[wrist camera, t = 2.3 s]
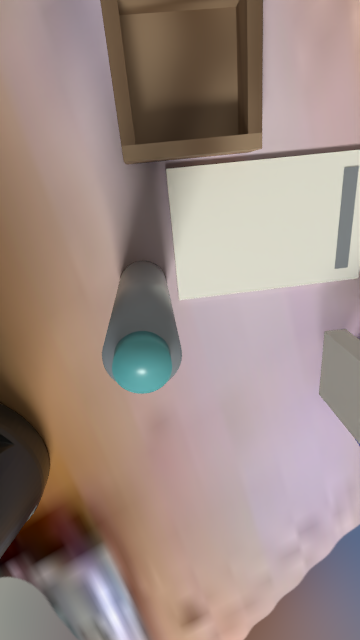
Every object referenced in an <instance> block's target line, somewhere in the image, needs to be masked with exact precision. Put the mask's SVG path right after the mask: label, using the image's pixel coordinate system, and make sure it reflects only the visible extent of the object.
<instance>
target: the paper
mask: <svg viewBox="0 0 360 640" xmlns="http://www.w3.org/2000/svg"><path fill="white" fill-rule="evenodd" d="M166 176H167V186H168V196H169V206H170V216H171V226H172V235H173V245H174V255H175V265H176V275H177V285H178V295H179V300H185V299H193V298H202V297H210V296H218V295H226V294H234V293H243V292H251V291H259V290H267V289H275V288H284V287H292V286H300V285H308V284H316V283H325V282H333V281H341V280H349V279H357V278H358V276H359V269H360V150H351V151H341V152H331V153H321V154H311V155H301V156H291V157H281V158H271V159H261V160H251V161H240V162H230V163H220V164H210V165H200V166H190V167H180V168H170V169H166Z"/></svg>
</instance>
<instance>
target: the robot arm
mask: <svg viewBox="0 0 360 640" xmlns="http://www.w3.org/2000/svg"><path fill="white" fill-rule="evenodd" d="M319 395H320V396H321V397H322V398H323V400H324V401H325V402H326V403H327V405H328V406H329V407H330V408H331V410H332V411H333V412H334V413H335V414H336V416H337V417H338V418H339V419H340V421H341V422H342V423H343V424H344V426H345V427H346V428H347V429H348V431H349V432H350V433H351V434H352V435H353V437H354V438H355V439H356V440H357V442H358V443H359V444H360V340H359V339H358V338H356V337H355V336H354V335H352V334H351V333H350V332H348V331H347V330H346V329H341V330H333V331H325V333H324V344H323V355H322V366H321V377H320V388H319ZM49 468H50V464H49V456H48V452H47V449H46V447H45V444H44V442H43V440H42V439H41V437H40V436H39V434H38V433H37V431H36V430H35V429H34V428H33V427H32V426H31V425H30V424H29V423H28V422H27V421H26V420H25V419H24V418H23V417H21V416H20V415H19V414H17V413H16V412H14V411H13V410H11V409H10V408H8V407H6V406H4V405H2V404H0V558H1V556H2V555H3V553H4V552H5V551H6V549H7V548H8V547H9V545H10V544H11V542H12V541H13V540H14V538H15V537H16V535H17V534H18V532H19V531H20V530H21V528H22V527H23V525H24V524H25V523H26V521H27V520H28V519H29V518H30V517H31V516H32V514H33V513H34V512H35V510H36V508H37V506H38V504H39V502H40V500H41V497H42V495H43V492H44V489H45V485H46V482H47V479H48V476H49Z"/></svg>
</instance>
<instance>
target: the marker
mask: <svg viewBox="0 0 360 640" xmlns="http://www.w3.org/2000/svg"><path fill="white" fill-rule="evenodd" d="M102 359H103V364H104V367H105V369H106V371H107V372H108V374H109V375H110V376H111V378H113V379H114V380H115V381H116V382H117V383H118V384H119V385H120V386H121V387H123V388H124V389H126V390H128V391H130V392H134V393H150V392H153V391H156V390H158V389H159V388H161V387H162V386H163V385H164V384H166V382H167V381H169V380H170V379H171V378H172V377H173V376H174V375H175V373H176V372H177V370H178V368H179V366H180V363H181V359H182V350H181V345H180V340H179V336H178V331H177V327H176V322H175V318H174V313H173V309H172V304H171V300H170V295H169V291H168V286H167V282H166V278H165V275H164V273H163V271H162V270H161V269H160V268H159V267H158V266H157V265H155V264H154V263H151V262H148V261H138V262H134V263H132V264H130V265H129V266H128V267H127V268H126V269H125V270H124V271H123V273H122V275H121V278H120V282H119V286H118V290H117V294H116V298H115V302H114V306H113V310H112V314H111V318H110V322H109V326H108V330H107V334H106V338H105V342H104V346H103V351H102Z"/></svg>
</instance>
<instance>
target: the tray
mask: <svg viewBox="0 0 360 640" xmlns="http://www.w3.org/2000/svg"><path fill="white" fill-rule="evenodd" d="M100 1H101V8H102V15H103V22H104V29H105V36H106V43H107V49H108V56H109V63H110V70H111V77H112V84H113V91H114V98H115V105H116V111H117V118H118V125H119V132H120V139H121V146H122V153H123V160H124V163H125V164H135V163H145V162H156V161H166V160H176V159H186V158H196V157H207V156H217V155H227V154H237V153H247V152H252V151H255V150H258V149H262V49H263V0H100Z"/></svg>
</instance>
